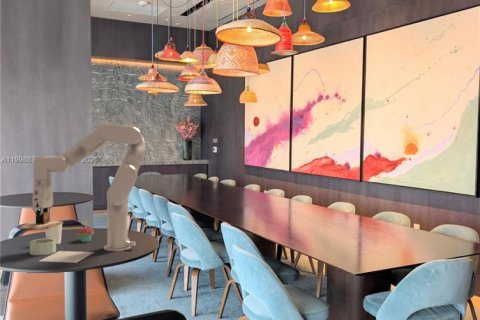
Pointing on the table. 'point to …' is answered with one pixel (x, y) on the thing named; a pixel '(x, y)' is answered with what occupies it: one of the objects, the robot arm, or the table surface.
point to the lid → (44, 225)
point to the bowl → (42, 246)
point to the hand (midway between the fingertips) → (42, 222)
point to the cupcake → (85, 233)
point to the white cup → (54, 233)
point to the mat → (66, 256)
